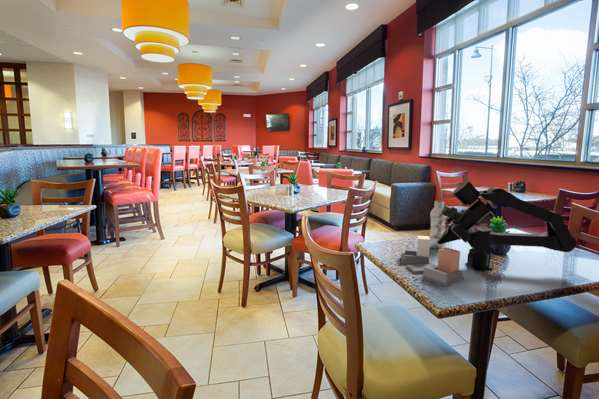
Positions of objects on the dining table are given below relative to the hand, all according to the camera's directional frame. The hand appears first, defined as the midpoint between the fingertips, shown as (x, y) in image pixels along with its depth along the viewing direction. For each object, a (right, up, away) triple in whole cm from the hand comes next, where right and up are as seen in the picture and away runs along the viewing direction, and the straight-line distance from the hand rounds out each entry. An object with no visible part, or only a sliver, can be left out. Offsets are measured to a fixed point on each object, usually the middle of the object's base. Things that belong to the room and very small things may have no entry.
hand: (438, 243), depth 125 cm
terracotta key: (-2, -8, -13) cm, 16 cm away
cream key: (-5, -6, +2) cm, 8 cm away
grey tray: (-6, -8, -6) cm, 12 cm away
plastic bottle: (+7, -5, +21) cm, 22 cm away
